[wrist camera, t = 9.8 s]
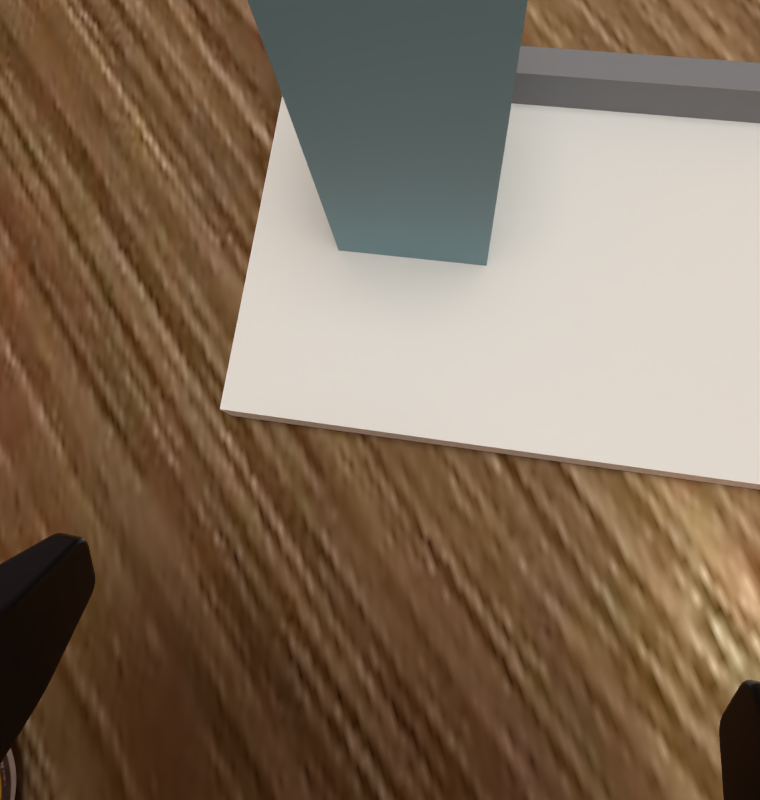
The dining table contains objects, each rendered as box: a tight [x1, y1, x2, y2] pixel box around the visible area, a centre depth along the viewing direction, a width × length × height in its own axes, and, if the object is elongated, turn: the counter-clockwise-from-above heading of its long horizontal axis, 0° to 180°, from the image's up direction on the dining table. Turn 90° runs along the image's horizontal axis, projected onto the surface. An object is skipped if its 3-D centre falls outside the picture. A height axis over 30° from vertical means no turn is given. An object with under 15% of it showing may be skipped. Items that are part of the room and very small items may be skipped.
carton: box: [248, 0, 527, 266], centre depth 17 cm, size 5×5×13 cm
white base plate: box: [220, 46, 760, 490], centre depth 23 cm, size 13×18×3 cm
